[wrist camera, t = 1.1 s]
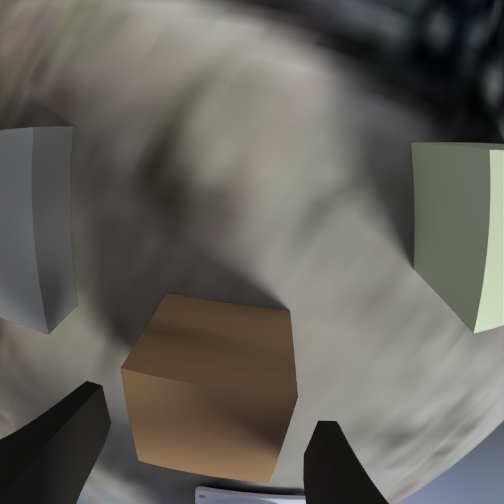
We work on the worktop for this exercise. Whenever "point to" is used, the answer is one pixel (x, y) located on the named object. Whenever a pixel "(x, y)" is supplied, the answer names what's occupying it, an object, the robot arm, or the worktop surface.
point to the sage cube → (461, 227)
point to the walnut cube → (212, 388)
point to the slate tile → (36, 227)
